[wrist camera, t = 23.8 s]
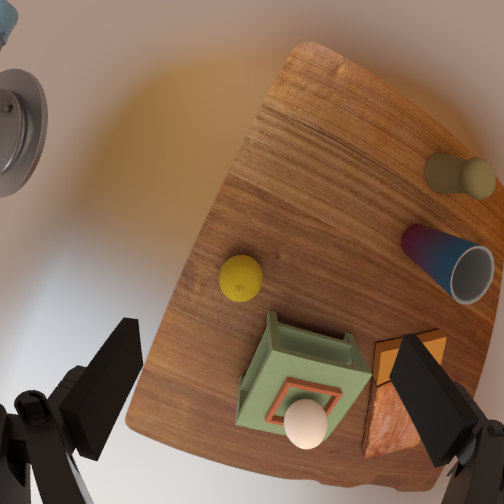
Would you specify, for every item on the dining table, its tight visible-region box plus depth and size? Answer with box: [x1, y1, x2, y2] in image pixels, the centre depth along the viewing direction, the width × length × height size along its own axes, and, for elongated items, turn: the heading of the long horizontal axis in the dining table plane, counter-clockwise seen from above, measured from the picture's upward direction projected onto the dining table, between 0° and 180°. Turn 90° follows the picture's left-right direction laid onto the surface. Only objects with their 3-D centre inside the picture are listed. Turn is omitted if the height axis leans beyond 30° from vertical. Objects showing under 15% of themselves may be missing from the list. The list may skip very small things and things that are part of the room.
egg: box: [284, 399, 328, 449], centre depth 34 cm, size 5×5×8 cm
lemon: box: [219, 255, 263, 302], centre depth 40 cm, size 6×6×8 cm
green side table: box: [236, 310, 372, 441], centre depth 42 cm, size 14×14×12 cm
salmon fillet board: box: [362, 329, 446, 458], centre depth 49 cm, size 13×30×3 cm, turn 7°
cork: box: [425, 153, 496, 200], centre depth 34 cm, size 6×6×11 cm
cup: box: [402, 224, 494, 305], centre depth 35 cm, size 7×7×15 cm
